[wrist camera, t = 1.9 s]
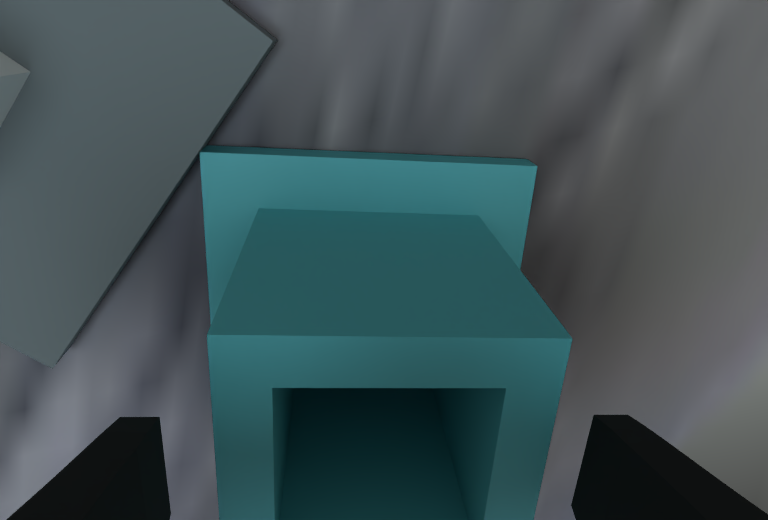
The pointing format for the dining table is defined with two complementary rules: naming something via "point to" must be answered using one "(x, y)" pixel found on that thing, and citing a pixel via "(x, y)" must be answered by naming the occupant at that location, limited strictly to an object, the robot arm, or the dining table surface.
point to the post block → (101, 142)
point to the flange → (375, 336)
